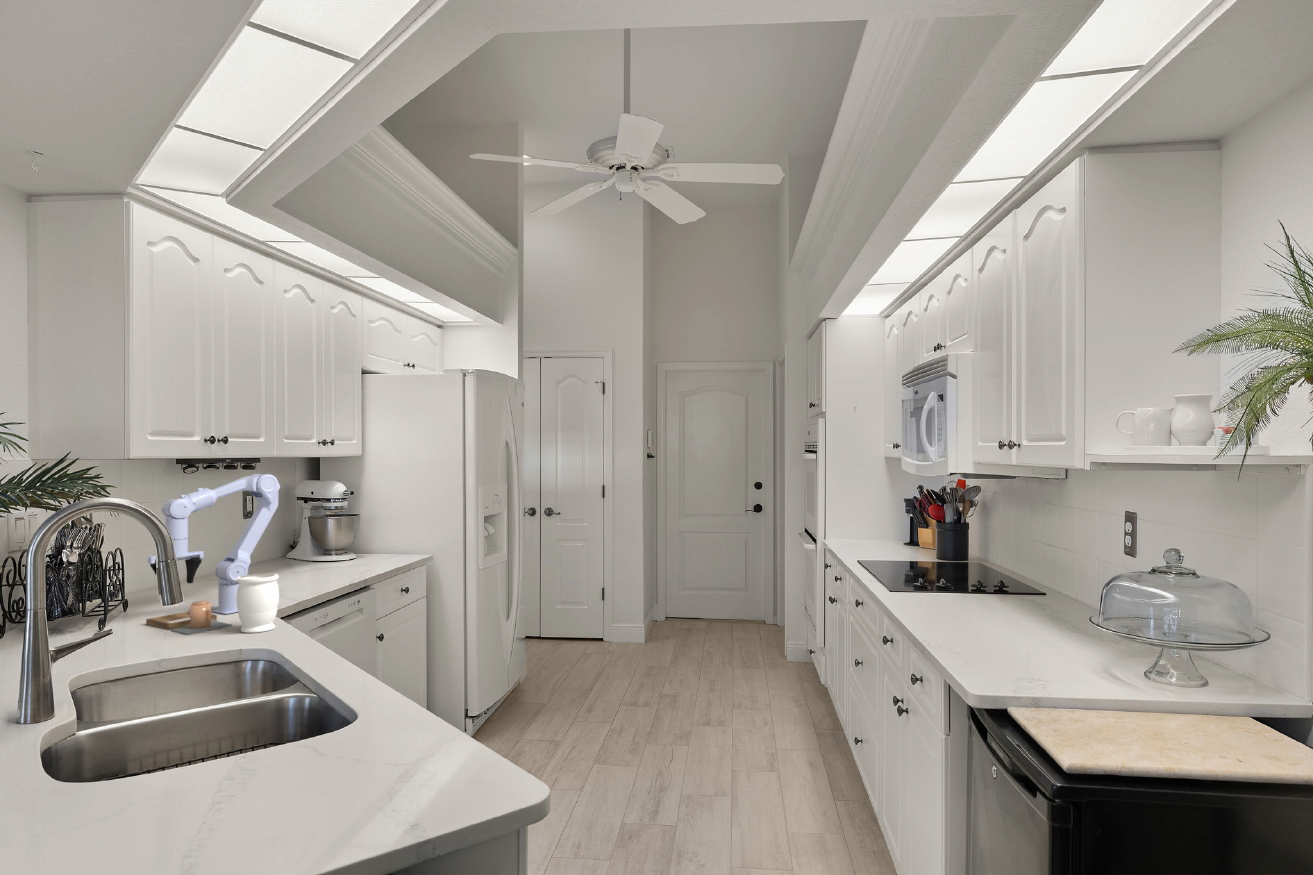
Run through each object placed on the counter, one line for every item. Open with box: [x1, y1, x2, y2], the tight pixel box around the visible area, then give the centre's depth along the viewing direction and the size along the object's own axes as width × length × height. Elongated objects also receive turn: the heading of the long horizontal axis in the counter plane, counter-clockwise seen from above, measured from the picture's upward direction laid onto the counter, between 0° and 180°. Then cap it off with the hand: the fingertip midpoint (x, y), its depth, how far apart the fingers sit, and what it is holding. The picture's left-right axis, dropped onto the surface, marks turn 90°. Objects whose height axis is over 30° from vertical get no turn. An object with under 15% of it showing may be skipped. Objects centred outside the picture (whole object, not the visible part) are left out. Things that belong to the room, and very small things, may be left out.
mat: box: [170, 620, 233, 636], centre depth 209 cm, size 12×9×1 cm
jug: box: [189, 600, 213, 629], centre depth 209 cm, size 6×5×7 cm
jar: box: [237, 573, 280, 634], centre depth 206 cm, size 11×10×15 cm
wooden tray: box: [145, 610, 218, 631], centre depth 216 cm, size 13×13×2 cm
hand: (176, 584), depth 220 cm, fingers open, 7 cm apart
